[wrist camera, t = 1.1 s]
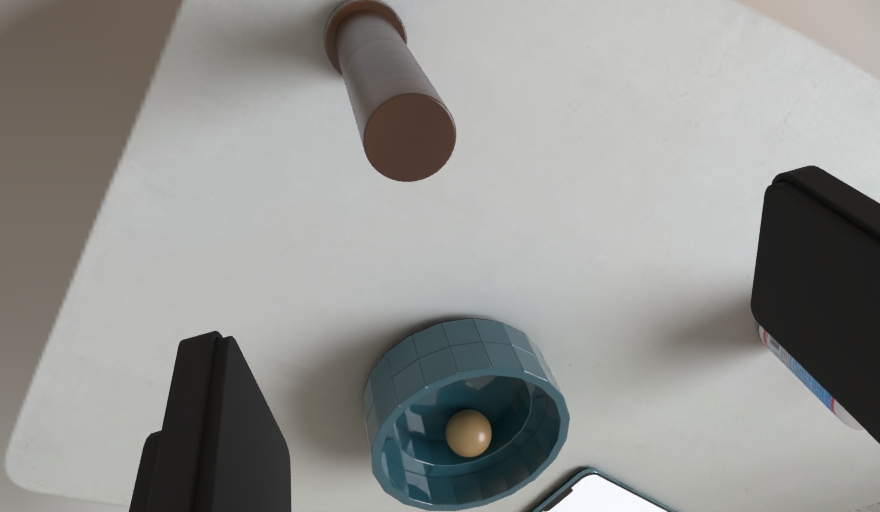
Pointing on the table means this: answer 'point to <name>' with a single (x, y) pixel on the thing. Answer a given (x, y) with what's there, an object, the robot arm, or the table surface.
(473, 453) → the bead
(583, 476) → the smartphone
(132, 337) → the table surface
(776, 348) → the pill bottle
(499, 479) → the bowl
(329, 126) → the table surface
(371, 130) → the brown flanged cylinder
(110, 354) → the table surface
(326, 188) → the table surface
